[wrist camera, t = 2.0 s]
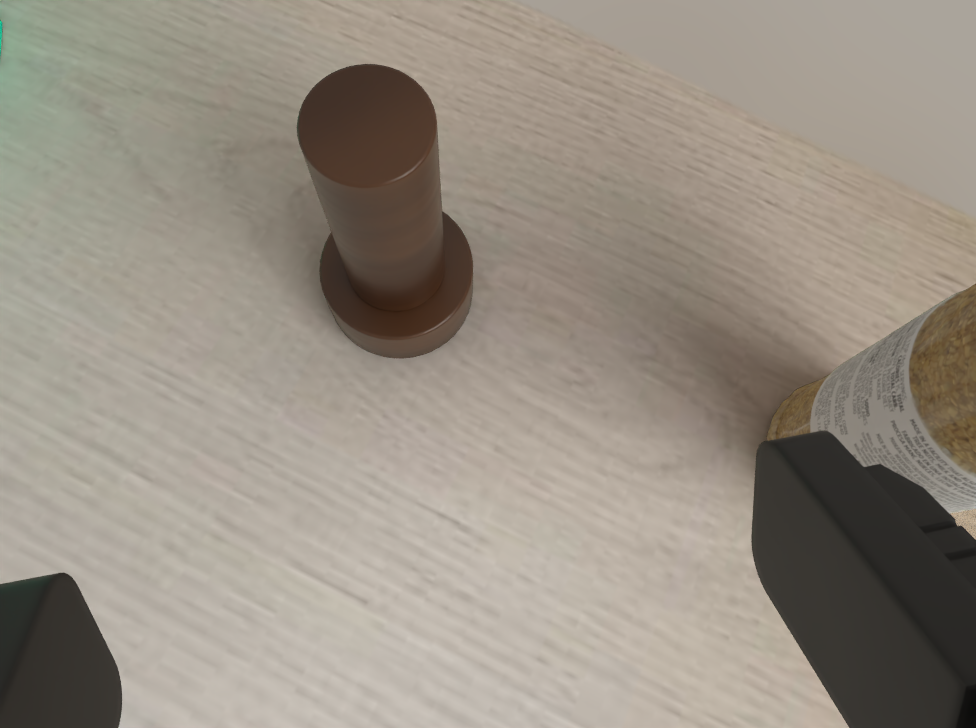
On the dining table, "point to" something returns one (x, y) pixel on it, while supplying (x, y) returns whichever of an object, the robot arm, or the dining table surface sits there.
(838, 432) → the sprinkles bottle
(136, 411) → the dining table surface
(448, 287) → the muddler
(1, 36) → the candle
